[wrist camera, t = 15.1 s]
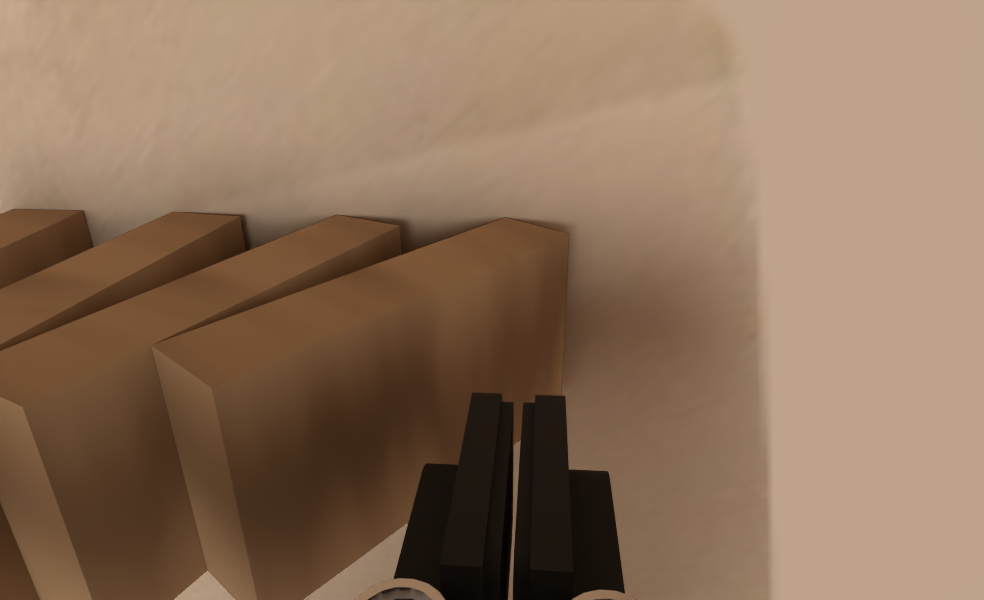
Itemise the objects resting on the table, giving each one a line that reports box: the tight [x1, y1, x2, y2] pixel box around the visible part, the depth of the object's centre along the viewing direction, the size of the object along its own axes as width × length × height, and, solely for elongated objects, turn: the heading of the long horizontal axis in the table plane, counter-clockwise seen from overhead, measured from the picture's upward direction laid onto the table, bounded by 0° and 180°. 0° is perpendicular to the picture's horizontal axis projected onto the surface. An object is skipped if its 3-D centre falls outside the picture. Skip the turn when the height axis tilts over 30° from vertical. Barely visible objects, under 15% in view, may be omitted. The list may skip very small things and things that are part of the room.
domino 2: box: [0, 215, 402, 600], centre depth 14 cm, size 5×2×9 cm, turn 0°
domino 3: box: [151, 218, 569, 600], centre depth 14 cm, size 5×2×9 cm
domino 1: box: [0, 212, 246, 600], centre depth 14 cm, size 5×2×9 cm, turn 0°
